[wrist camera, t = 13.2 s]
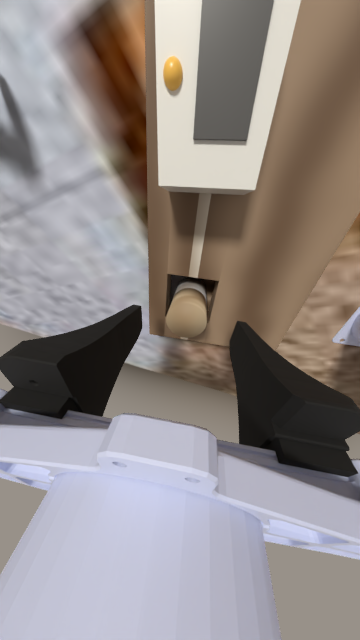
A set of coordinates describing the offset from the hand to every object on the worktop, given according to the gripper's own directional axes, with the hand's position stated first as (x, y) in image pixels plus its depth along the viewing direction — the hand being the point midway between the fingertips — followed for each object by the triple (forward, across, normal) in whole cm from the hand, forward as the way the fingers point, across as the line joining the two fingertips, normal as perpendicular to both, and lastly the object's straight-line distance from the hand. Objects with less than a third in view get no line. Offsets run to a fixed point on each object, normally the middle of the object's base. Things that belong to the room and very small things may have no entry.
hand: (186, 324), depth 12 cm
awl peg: (+6, 0, 0) cm, 7 cm away
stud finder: (+4, 0, -12) cm, 12 cm away
